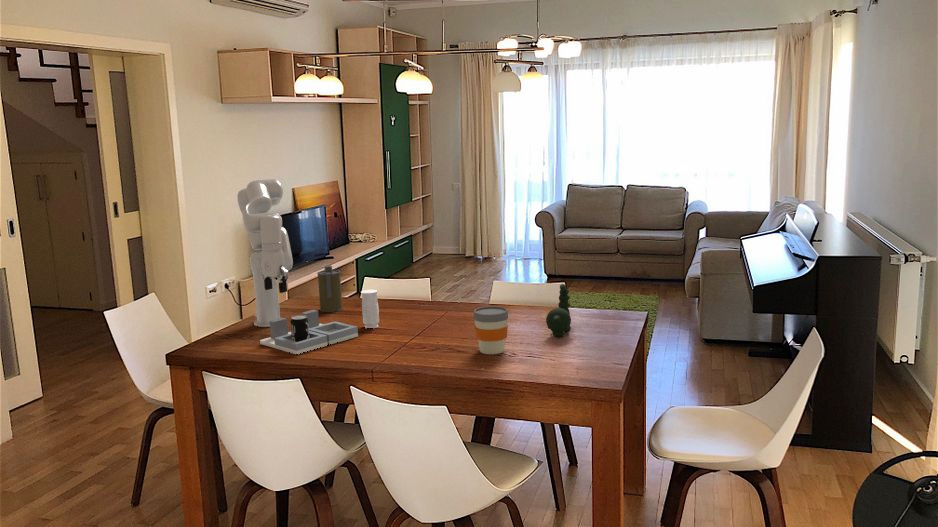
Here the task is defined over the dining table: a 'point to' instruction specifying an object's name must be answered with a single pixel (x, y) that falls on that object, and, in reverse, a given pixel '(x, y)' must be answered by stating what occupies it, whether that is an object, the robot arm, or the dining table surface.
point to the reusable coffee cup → (491, 328)
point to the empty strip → (330, 328)
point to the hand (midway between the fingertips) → (275, 290)
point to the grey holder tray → (284, 339)
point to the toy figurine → (560, 315)
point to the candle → (370, 308)
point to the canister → (330, 290)
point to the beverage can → (299, 328)
